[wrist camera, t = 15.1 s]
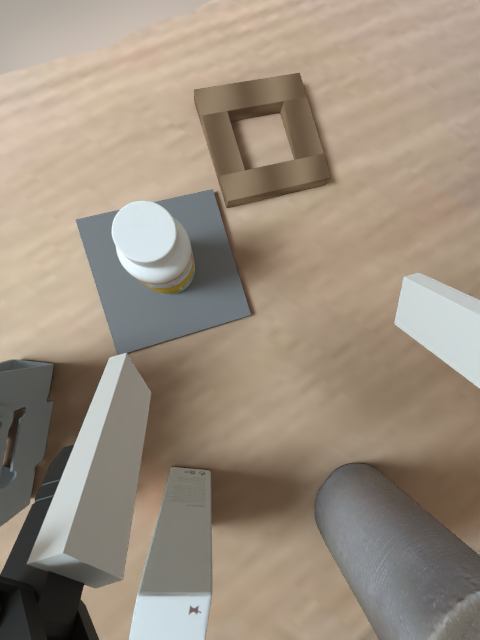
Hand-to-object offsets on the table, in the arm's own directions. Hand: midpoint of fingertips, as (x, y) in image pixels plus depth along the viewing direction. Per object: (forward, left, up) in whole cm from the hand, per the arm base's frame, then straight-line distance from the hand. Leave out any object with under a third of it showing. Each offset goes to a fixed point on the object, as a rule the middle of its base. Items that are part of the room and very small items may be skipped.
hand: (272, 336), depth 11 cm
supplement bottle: (+5, -8, -14) cm, 17 cm away
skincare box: (+10, +15, -15) cm, 23 cm away
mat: (+5, -8, -15) cm, 18 cm away
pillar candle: (-7, +23, -15) cm, 28 cm away
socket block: (-9, -19, -15) cm, 26 cm away
